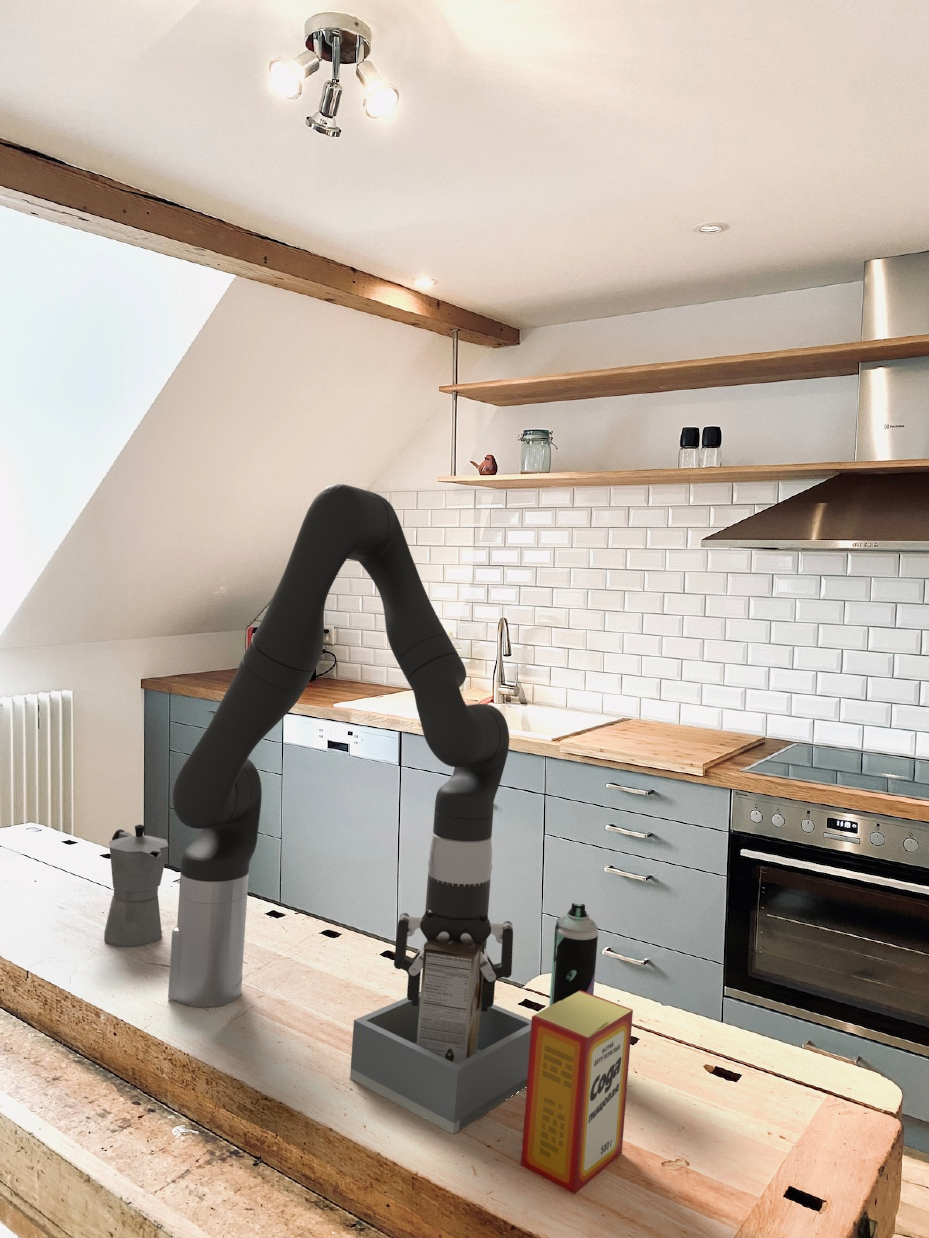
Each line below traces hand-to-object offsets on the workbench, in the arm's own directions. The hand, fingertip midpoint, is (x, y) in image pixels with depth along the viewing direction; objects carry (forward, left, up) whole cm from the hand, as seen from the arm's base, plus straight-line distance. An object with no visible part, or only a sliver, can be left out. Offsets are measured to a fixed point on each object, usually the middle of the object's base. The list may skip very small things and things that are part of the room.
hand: (449, 1005), depth 113 cm
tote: (0, 0, -9) cm, 9 cm away
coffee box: (0, 0, -8) cm, 8 cm away
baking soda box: (+14, -14, -9) cm, 22 cm away
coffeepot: (-52, +37, -9) cm, 64 cm away
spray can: (+15, +8, -9) cm, 19 cm away
